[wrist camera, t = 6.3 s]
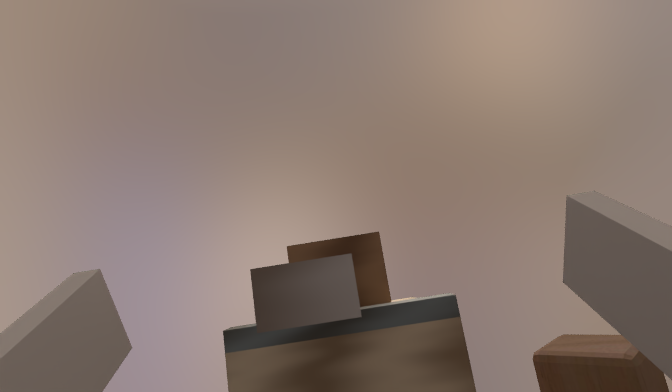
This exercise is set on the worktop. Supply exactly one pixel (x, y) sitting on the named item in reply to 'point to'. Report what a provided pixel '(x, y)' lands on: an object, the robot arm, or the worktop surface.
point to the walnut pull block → (321, 283)
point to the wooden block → (595, 366)
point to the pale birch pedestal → (357, 352)
